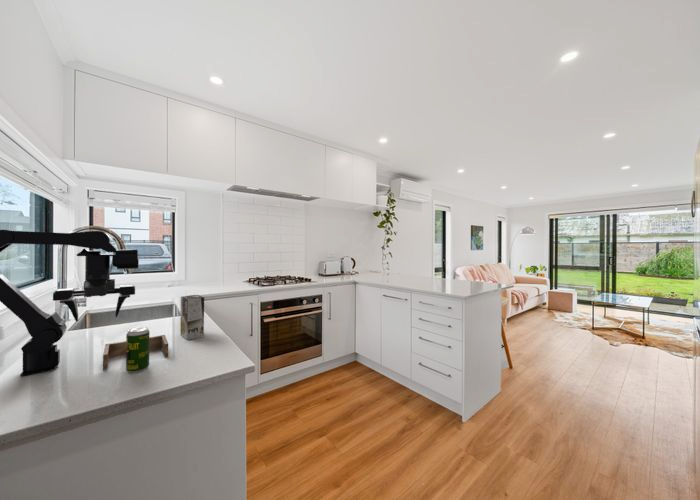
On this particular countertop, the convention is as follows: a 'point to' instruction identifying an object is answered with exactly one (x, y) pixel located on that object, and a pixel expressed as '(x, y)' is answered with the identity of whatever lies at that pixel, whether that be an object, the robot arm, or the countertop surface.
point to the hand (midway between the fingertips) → (97, 318)
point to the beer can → (137, 349)
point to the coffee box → (192, 316)
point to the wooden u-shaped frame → (120, 348)
